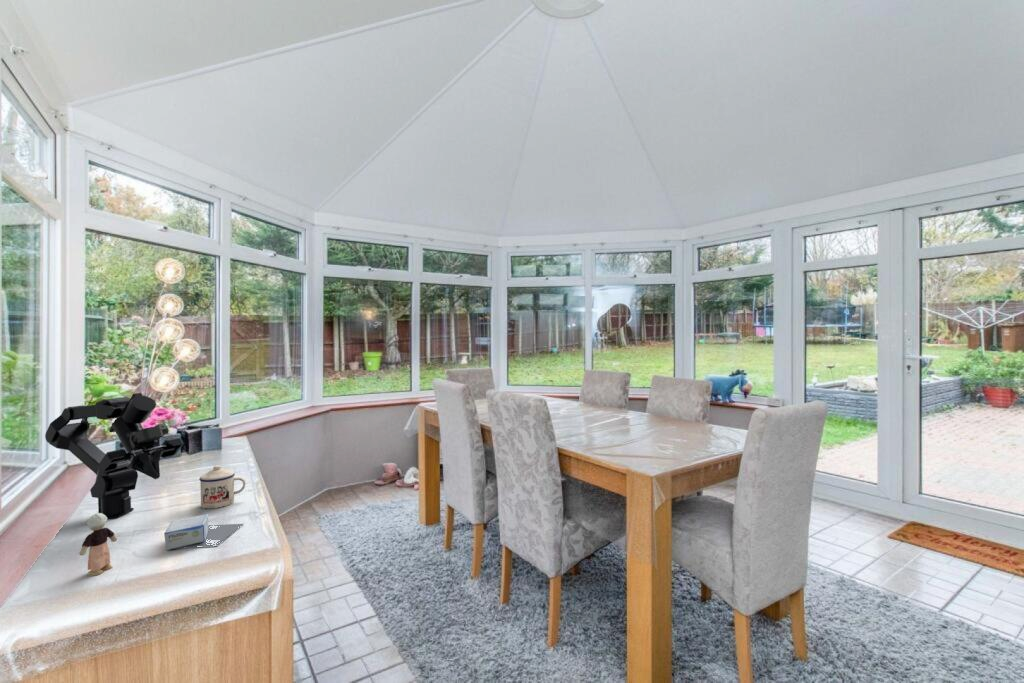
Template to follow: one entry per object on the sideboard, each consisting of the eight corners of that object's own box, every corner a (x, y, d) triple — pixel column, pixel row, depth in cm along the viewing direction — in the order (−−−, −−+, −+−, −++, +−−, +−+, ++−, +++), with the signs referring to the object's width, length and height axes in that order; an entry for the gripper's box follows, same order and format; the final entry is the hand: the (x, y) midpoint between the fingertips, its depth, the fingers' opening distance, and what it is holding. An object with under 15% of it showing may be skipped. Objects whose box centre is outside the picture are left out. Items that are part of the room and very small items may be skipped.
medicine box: (172, 538, 117) (165, 551, 109) (170, 520, 117) (163, 532, 109) (209, 529, 121) (204, 542, 113) (207, 513, 121) (203, 524, 113)
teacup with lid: (197, 511, 135) (196, 472, 135) (202, 501, 143) (201, 464, 143) (244, 504, 140) (244, 466, 140) (247, 495, 148) (246, 459, 148)
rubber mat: (178, 548, 111) (178, 547, 111) (208, 526, 124) (208, 525, 124) (217, 546, 112) (217, 545, 112) (243, 524, 125) (243, 523, 125)
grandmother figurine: (102, 563, 104) (101, 507, 104) (120, 562, 104) (119, 507, 104) (73, 581, 96) (71, 521, 96) (92, 580, 97) (91, 520, 97)
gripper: (105, 421, 119) (132, 469, 116) (179, 410, 137) (205, 451, 133) (86, 448, 122) (113, 495, 119) (162, 434, 140) (186, 474, 136)
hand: (157, 477), depth 127 cm, fingers closed
